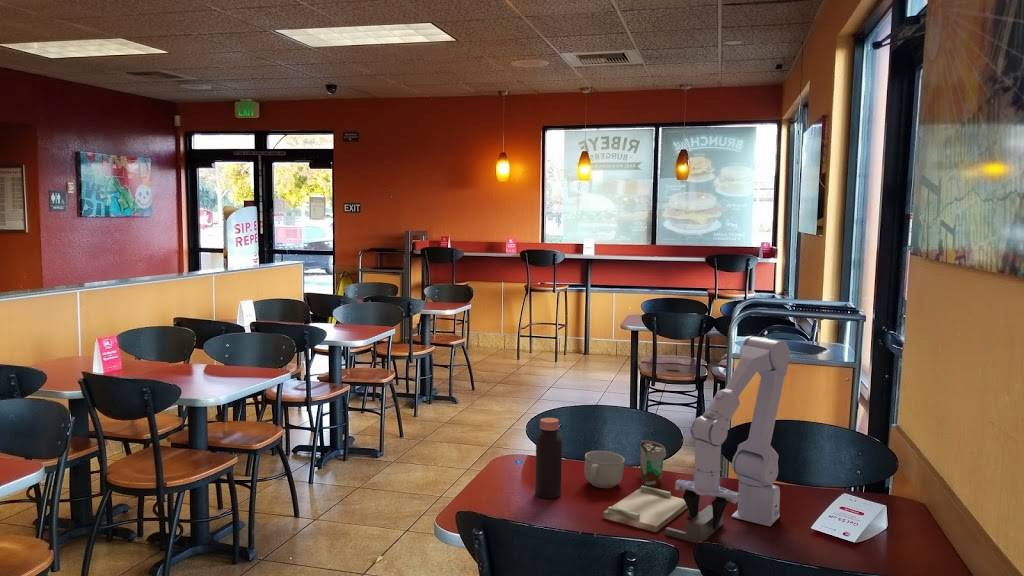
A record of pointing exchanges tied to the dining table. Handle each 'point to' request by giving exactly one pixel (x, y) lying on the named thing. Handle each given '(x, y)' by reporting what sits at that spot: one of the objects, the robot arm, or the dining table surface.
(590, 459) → the teacup
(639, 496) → the display stand
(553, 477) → the bottle
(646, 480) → the food container
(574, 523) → the dining table surface
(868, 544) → the dining table surface
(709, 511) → the grey boxy piece
